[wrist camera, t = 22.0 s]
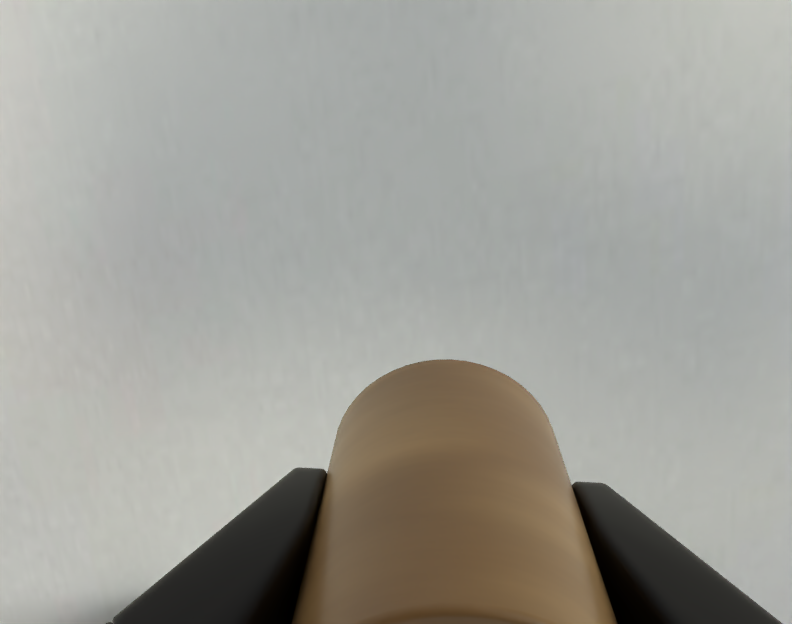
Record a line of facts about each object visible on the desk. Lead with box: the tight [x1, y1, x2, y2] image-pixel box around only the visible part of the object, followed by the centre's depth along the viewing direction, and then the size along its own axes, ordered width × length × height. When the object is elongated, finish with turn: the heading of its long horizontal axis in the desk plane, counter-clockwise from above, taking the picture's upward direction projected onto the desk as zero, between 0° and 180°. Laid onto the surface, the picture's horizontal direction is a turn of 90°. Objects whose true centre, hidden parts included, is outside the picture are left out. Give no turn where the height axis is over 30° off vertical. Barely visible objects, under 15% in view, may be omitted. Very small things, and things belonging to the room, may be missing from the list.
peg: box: [291, 360, 618, 624], centre depth 8 cm, size 3×3×4 cm
